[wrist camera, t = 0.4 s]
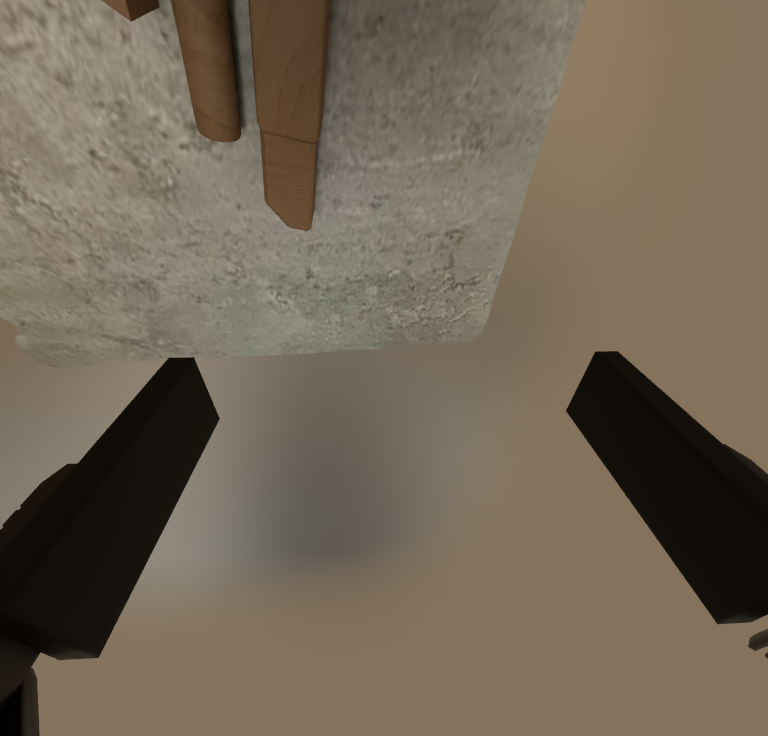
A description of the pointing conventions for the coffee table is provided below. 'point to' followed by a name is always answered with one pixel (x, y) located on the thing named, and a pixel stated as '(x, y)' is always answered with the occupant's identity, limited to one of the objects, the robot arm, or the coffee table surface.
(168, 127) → the coffee table surface
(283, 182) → the wooden block set
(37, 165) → the coffee table surface
